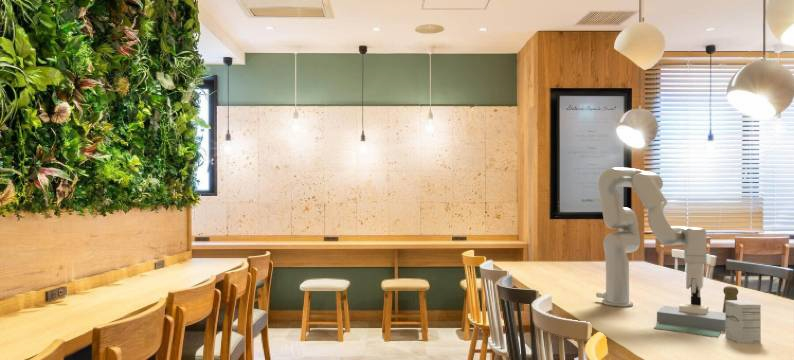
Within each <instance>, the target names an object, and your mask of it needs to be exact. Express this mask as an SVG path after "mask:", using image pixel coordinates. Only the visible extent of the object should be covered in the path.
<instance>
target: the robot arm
mask: <svg viewBox="0 0 794 360" xmlns="http://www.w3.org/2000/svg"><path fill="white" fill-rule="evenodd" d="M663 185H664V181H663V179H662V177H661V175H659V174H657V173H655V172H651V171H646V170H641V169H637V168H632V167H631V168H630V167H618V166H617V167H615V166H614V167H610V168H607V169H606V170H604V171H603V172H602V173H601V175H599V178H598V192H599V195H600V200H601V210H602V217H603V223H604V225H605V226H606V227H607V228H609V229H612V230H613V229H614V230H617V229H618V231H613V232H610V233H608V234H605V235H606V236H604V238H603V242H602V243H603V244H602V245H603V251H604V257H605V292H603V293H602V292H596V293H595V295H596V298H600V299H601V298H602V300H601V303H602V304H604V305H606V306H612V307H621V308H623V307H627V308H628V307H632V306H634V302H633V301H631V300H630V263H629V257H628V256H627V253H629V254H630V253H634V252H636V251H637V250H639V248H640V245H641V237H640V229H639V221H638V218H637V215H636V213H635V211H634V210H632V208H629V207H624V205H623V202H622V201H623V200H622V199H623V197H622V195H621V194H620V191H619V190H618V188H619V187H621V188H625V187H626V188H632V189H633V190H634V192H635V194H636V195H637V196H638V198H639V200H640V201H641V203H642V205H643V206H644V208H645V209H646V210H647V223H648V226H649V228H650V230H651V231H652V233H653V234H654V236H655V238H656V239H657V241H659V243H660V244H661V245H663V246H681V245H684V249H683V250H684V264H686V277H685V278H686V279H685V280H686V283H685V288H686V289H687V290H689V289H690V304H692V305H701V306H702V298H701V297H702V296H701V290H702V289H703V287H704V265H707V256H708V255H707V231H706V229H705V228H703V227H687V226H681V225H670V223H669V222H668V221H667V219H666V216H665V214H664V208H665V207H666V205H667V204H668V200H667V198H666V196H665V195H664V193H662V188H663Z"/></svg>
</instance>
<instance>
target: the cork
mask: <svg viewBox="0 0 794 360" xmlns="http://www.w3.org/2000/svg"><path fill="white" fill-rule="evenodd" d="M722 292H723V294H724V298H723V299H724V300H723V306H722V311H721V312H722V313H725V301H727V300H738V294H739V289H738V288H737V287H736V286H731V285H730V286H729V285H728V286H724V287H723V289H722Z"/></svg>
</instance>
